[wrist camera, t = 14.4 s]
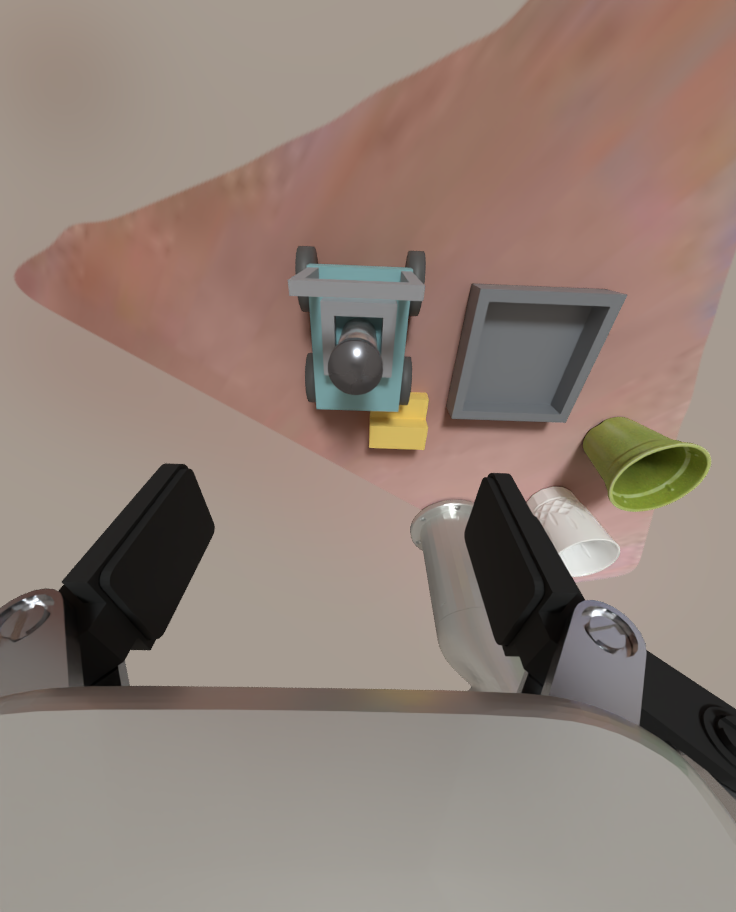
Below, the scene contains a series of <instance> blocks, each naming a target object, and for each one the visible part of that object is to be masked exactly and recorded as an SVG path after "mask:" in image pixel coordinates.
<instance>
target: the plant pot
mask: <svg viewBox="0 0 736 912" xmlns="http://www.w3.org/2000/svg"><path fill="white" fill-rule="evenodd" d="M583 449H584V451H585V453H586V455H587V456H588V457H589V459H590V460H591V462H592V463H593V465H594V466H595V468H596V469H597V471H598V473H599V474H600V476H601V477H602V479H603V480H604V482H605V485H606V488H607V490H608V497H609V500H610V501H611V503H612V504H613V505H614V506H615V507H617V508H619V509H621V510H625V511H631V512H639V511H648V510H653V509H656V508H660V507H663V506H665V505H668V504H670V503H672V502H674V501H676V500H679V499H680V498H682V497H683V496H685V495H686V494H688V493H689V492H691V491H692V490H693V489H695V487H697V486H698V485H699V484H700V483H701V482H702V480H703V479H704V478H705V477H706V475H707V473H708V471H709V469H710V466H711V457H710V454H709V453H708V451H707V450H706V449H704V448H703V447H701V446H699V445H696V444H693V443H685V442H681V441H677V440H672V439H670V438H668V437H665V436H663V435H661V434H659V433H657V432H655V431H653V430H651V429H649V428H647V427H645V426H643V425H641V424H639V423H637V422H635V421H633V420H630V419H628V418H625V417H614V418H610V419H607V420H604V421H603V422H602V423H601V424H600V425H598V426H596V427H594V428H592V429H591V430H590V431H589V432H588V433H587V435H586V436H585V438H584V441H583Z"/></svg>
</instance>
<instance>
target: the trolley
mask: <svg viewBox="0 0 736 912" xmlns="http://www.w3.org/2000/svg"><path fill="white" fill-rule="evenodd" d="M425 265H426V261H425V252H424V251H409V252H408V255H407V259H406V265H405V268H402V267H379V266H355V265H332V264H318V259H317V253H316V249H315V247H312V246H298V248H297V252H296V266H295V268H296V275H295V276H293V277H292V278H290V279H289V280H288V287H289V296H298V300H299V305H300V308H301V310H302V311H303V312H310V322H311V336H312V350H313V353H308V355H307V358H306V366H305V386H306V394H307V399H308V401H309V402H316V406H317V409H330V410H358V411H387V412H398V410H399V405H408V403H409V399H410V393H411V383H412V361H411V357H404V353H405V344H406V334H407V325H408V316H418V314H419V311H420V308H421V303H422V301H423V299H424V291H425V285H424V282H425ZM354 318H363V319H366V320H368V321H369V322H370V323H371V324H372V325H373V326H374V328H375V330H376V335H377V349H378V350H379V352H380V354H381V357H382V362H383V374H382V378H381V380H380V382H379V384H378V385H377V386H376V387H375V388H374V389H373V390H372V391H370V392H368V393H366V394H362V395H350V394H347V393H344V392H342V391H340V390H339V389H338V388H336V387H335V385H334V384H333V383H332V381H331V380H330V377H329V374H328V361H329V358H330V354H331V352H332V350H333V349H334V347H335V346H336V345H337V344H338V343H339V339H340V335H341V332H342V329H343V327H344V325H345V324H346V323H347V322H348V321H349V320H351V319H354Z"/></svg>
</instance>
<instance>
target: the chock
mask: <svg viewBox="0 0 736 912" xmlns="http://www.w3.org/2000/svg"><path fill="white" fill-rule="evenodd" d="M428 402H429V399H428V396H427V393H413V392H411V393H410V399H409V403H408V405H399V410H398V412H387V411H370V425H369V448H387V449H415V450H424V448H425V442H426V437H427V431H428V426H427V423H426V413H427V407H428Z"/></svg>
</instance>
